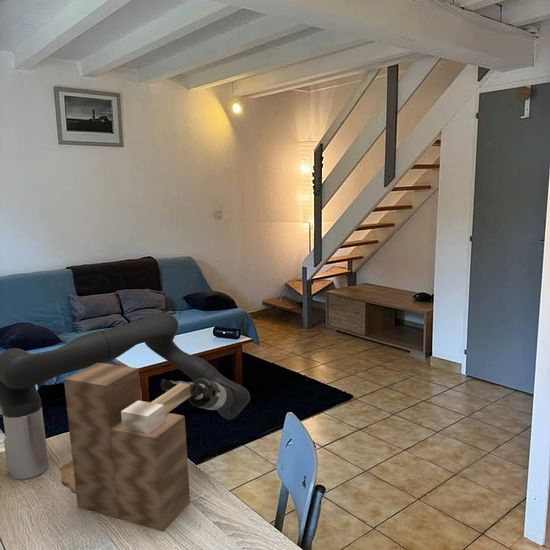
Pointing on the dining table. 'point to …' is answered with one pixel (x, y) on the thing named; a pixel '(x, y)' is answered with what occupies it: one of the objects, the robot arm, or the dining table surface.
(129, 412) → the mallet
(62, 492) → the dining table surface
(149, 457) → the stepped stand
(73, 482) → the pottery shard
